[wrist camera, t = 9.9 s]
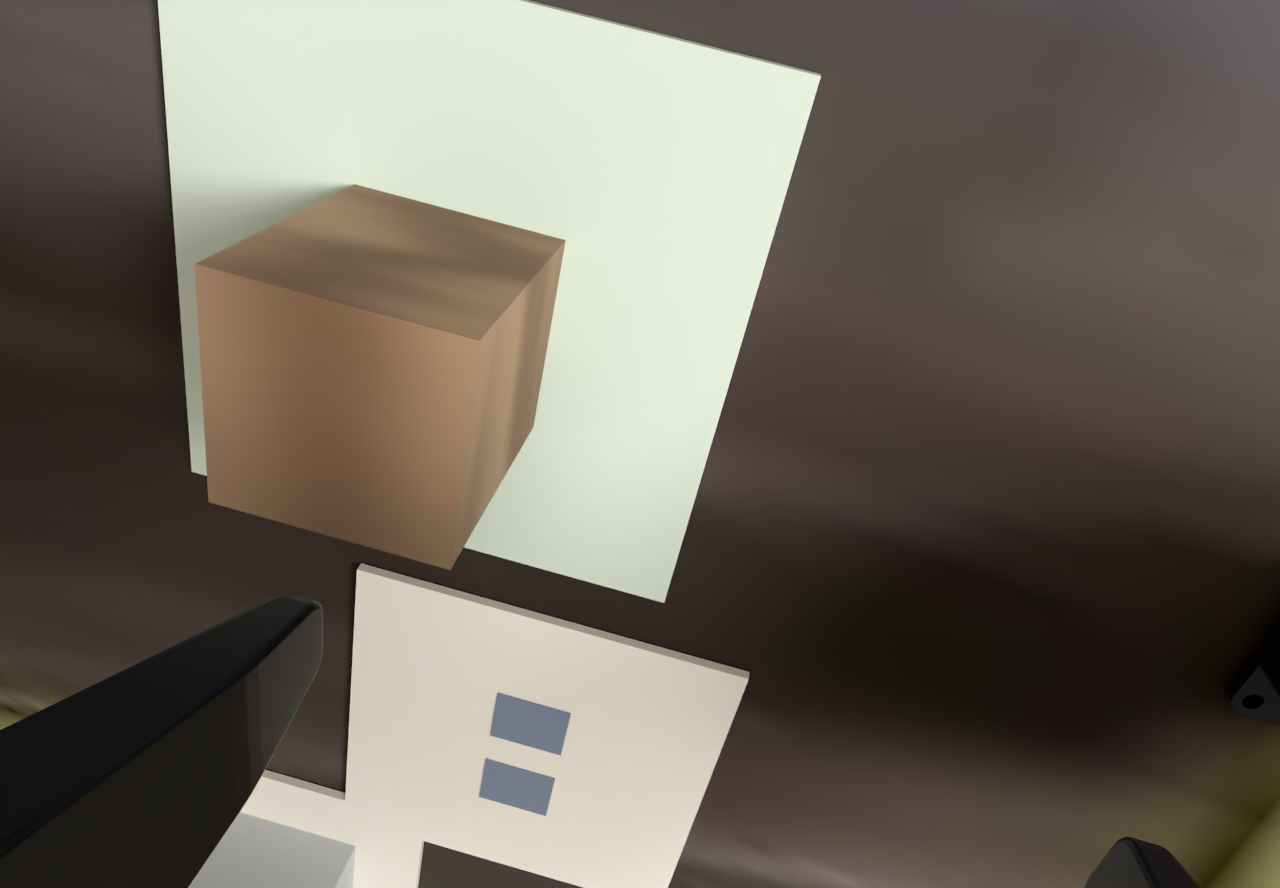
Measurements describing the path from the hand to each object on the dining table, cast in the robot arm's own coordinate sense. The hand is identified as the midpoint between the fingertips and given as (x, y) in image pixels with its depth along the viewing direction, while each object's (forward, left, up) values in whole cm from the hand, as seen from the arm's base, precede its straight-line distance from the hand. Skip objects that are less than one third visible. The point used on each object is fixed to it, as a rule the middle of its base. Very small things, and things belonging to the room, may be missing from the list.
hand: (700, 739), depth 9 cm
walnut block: (+7, +1, -12) cm, 14 cm away
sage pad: (+7, +1, -12) cm, 14 cm away
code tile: (+3, +16, -12) cm, 21 cm away
